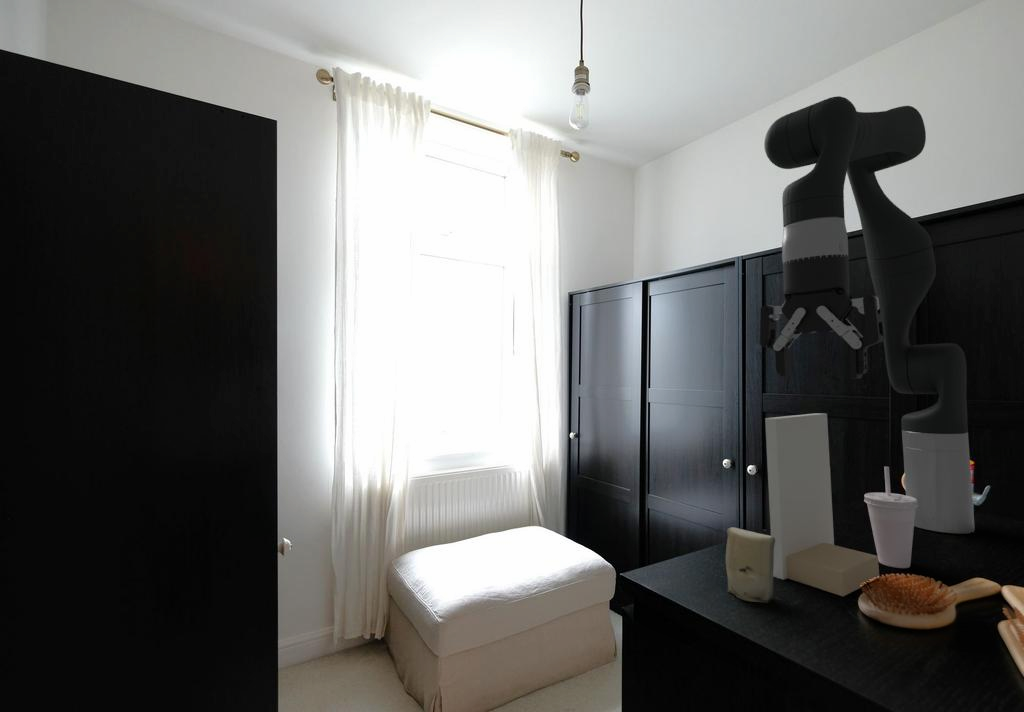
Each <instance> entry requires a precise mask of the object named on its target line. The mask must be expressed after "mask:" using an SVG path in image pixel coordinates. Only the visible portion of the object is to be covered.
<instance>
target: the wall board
mask: <svg viewBox="0 0 1024 712" xmlns="http://www.w3.org/2000/svg"><path fill="white" fill-rule="evenodd" d="M764 420H765V438H766V439H765V441H766V442H765V443H766V461H767V462H766V463H767V466H766V467H767V480H768V481H767V482H768V483H767V484H768V503H769V504H768V506H769V525H770V536H772V537H774V538H775V544H774V563H773V578H776V579H780V580H782V581H785V580H787V579H790V580H791V581H794V582H798V583H801V584H804V585H807V586H810V587H813V588H816V589H820V590H822V591H826V592H829V593H832V594H833V595H834V594H835V595H837V596H840V597H845V596H847V595H849V594H851V593H853V592H855V591H857V590H859V589H861V588H860V584H861V583H862V582H865V581H868V580H869V579H871V578H874V577H877V576H879V577H880V568H879V560H878V555H876V554H872V553H869V552H868V553H867V552H863V551H860V550H859V551H858V550H855V549H850V548H847V547H843V546H839V545H836V544H835V536H834V535H835V534H834V519H833V518H834V517H833V516H834V515H833V502H832V501H833V499H832V498H833V497H832V481H831V480H832V479H831V465H830V464H831V463H830V462H831V461H830V444H829V443H830V442H829V429H828V428H829V427H828V413H820V412H819V413H818V412H817V413H807V414H805V413H804V414H796V415H795V414H794V415H785V416H783V415H782V416H775V417H774V416H773V417H766V418H764Z"/></svg>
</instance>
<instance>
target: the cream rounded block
mask: <svg viewBox="0 0 1024 712" xmlns="http://www.w3.org/2000/svg"><path fill="white" fill-rule="evenodd" d="M726 533H727V540H726V546H725V547H726V549H725V569H726V575H727V592H728V593H730V594H732V595H734V596H736V598H738V599H740V600H742V601H747V602H751V603H753V602H754V603H767V604H769V603H771V602H772V601H773V598H774V597H773V596H774V577H773V563H774V544H775V538H774V537H772V536H771V535H768V534H763V533H758V532H756V531H755V532H754V531H750V530H746V529H743V528H742V529H741V528H738V527H733V526H732V527H729V528H727V529H726Z"/></svg>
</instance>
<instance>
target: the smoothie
mask: <svg viewBox="0 0 1024 712" xmlns="http://www.w3.org/2000/svg"><path fill="white" fill-rule="evenodd" d="M883 467H884V468H883V469H884V482H885V492H867V493H865V494H864V497H863V498H864V500H863V502H864V503H866V504H867V510H868V516H869V520H870V525H871V529H872V535H873V539H874V540H873V541H874V546H875V550H876V554H877V555H876V556H878V563H880V564H881V565H884V566H887V567H891V568H896V569H897V568H898V569H908V568H910V567H911V562H912V550H913V549H912V548H913V540H914V530H915V529H914V528H915V526H914V520H915V508H917V507H918V503H917V499H915V498H913V497H910V496H906V494H905V495H904V494H900V493H893V492H891V479H890V467H889V466H883Z"/></svg>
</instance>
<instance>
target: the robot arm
mask: <svg viewBox="0 0 1024 712" xmlns="http://www.w3.org/2000/svg"><path fill="white" fill-rule="evenodd" d="M926 133H927V132H926V126H925V122H924V119H923V117H922V114H921V113H920V111H919V110H918V109H917V108H915V107H913V106H911V105H903V106H898V107H894V108H890V109H887V110H882V111H871V112H870V111H867V112H864V111H858V110H857V108H856V107H855V105H854V104H853V102H852V101H850V100H849V99H848V98H847V97H844V96H840V95H839V96H832V97H828V98H826V99H823V100H820V101H819V102H815V103H813V104H810V105H807V106H806V107H803V108H800V109H798V110H795V111H792V112H790V113H787V114H785V115H782V116H780V117H779V118H778V119H776V120H775V121H774V122H772V124H771V125H770V126H769V128H768V130H767V132H766V134H765V137H764V145H763V146H764V152H765V154H766V156H767V158H768V160H769V162H771V163H772V164H773V165H774V166H775V167H777V168H780V169H784V170H791V169H792V170H793V169H798V168H802V167H807V166H811V165H814V166H813V169H812V170H810V171H809V172H808V173H807V174H805V175H804V176H802V177H800V178H798V179H796V180H794V181H792V182H790V183H789V184H787V185H786V187H785V188H784V190H783V191H782V197H781V198H782V199H781V201H782V203H781V205H782V224H783V226H782V227H783V228H782V229H783V230H782V231H783V232H782V233H783V234H782V241H781V242H782V243H781V244H782V245H781V260H782V272H783V273H782V275H783V276H782V277H783V279H782V280H783V295H784V302H783V303H782V305H772V304H771V305H769V304H766V305H762V306H761V308H760V320H759V321H760V324H759V325H760V327H759V329H760V330H759V344H760V346H761V347H762V348H768V349H771V350H773V351H774V353H775V370H776V373H777V374H779V375H780V378H782V379H787V378H792V375H793V369H792V367H793V366H792V351H791V350H789V348H791V346H792V344H794V341H796V339H798V338H799V337H800V336H801V334H814V333H815V334H816V333H833V332H835V333H836V334H837V335H838V336H839V337H841V338H842V339H843V340H844V341H845V342H846V343H847V344H848V345H849V346H850V347H851V349H849V369H850V370H849V372H850V373H849V375H850V378H851V380H852V379H853V380H857V379H862V378H863V375H864V374H867V372H868V370H869V367H868V365H869V364H868V349H869V347H870V346H871V347H872V346H873V345H876V344H879V343H883V346H884V347H883V349H884V355H885V364H886V370H887V377H888V379H889V382H890V384H891V387H892V388H893V390H894V391H896V392H897V393H899V394H905V395H938V400H937V402H935V404H933V405H931V406H930V407H927V408H925V409H921V410H919V411H914V412H910V413H907V414H904V415H903V416H902V417H901V438H902V452H903V454H902V455H903V468H904V484H905V495H906V496H910V497H913V498H915V499H917V503H918V507H917V508H915V520H914V527H916V528H919V529H923V530H928V531H932V532H940V533H947V534H971V532H972V533H975V531H976V529H975V528H976V527H975V516H974V500H973V497H974V496H973V483H972V472H971V471H972V470H971V459H970V458H971V457H970V455H971V454H970V443H969V428H968V404H967V403H968V402H967V381H968V380H967V376H968V375H967V361H966V356H965V352H964V350H963V349H962V347H961V346H959V344H956V343H945V342H944V343H929V344H913V345H912V344H911V343H910V338H909V336H910V335H909V333H910V331H909V330H910V326H911V323H912V320H913V318H914V315H915V313H916V311H917V310H918V308H919V306H920V305H921V303H922V301H923V299H924V298H925V297H926V295H927V293H928V291H930V288H931V286H932V284H933V282H934V280H935V277H936V275H937V267H936V259H935V254H934V249H933V244H932V239H931V236H930V234H929V233H928V232H927V230H926V229H925V228H924V227H923V226H922V225H921V224H920V223H919V222H917V221H916V220H915V219H914V218H912V217H911V216H910V215H909V214H907V213H906V212H905V211H903V210H902V209H901V208H899V207H898V206H897V205H896V204H895V203H894V202H893V201H892V200H891V199H890V198H889V197H888V196H887V195H886V194H885V193H884V190H883V189H882V187H881V186H880V184H879V181H878V179H877V176H876V174H875V173H876V172H880V171H883V170H887V169H890V168H892V167H895V166H899V165H902V164H905V163H908V162H909V161H912V160H914V159H915V158H917V157H918V156H920V154H921V153H922V152H923V150H924V148H925V145H926V140H927V139H926V137H927V136H926ZM846 176H847V177H848V181H849V184H850V187H851V191H852V194H853V197H854V201H855V204H856V207H857V212H858V216H859V221H860V225H861V231H862V235H863V241H864V246H865V252H866V259H867V264H868V269H869V273H870V277H871V278H870V279H871V281H872V286H873V290H874V295H872V294H871V295H870V294H867V295H865V296H864V297H859V298H853V297H852V295H851V292H850V291H851V290H850V288H851V287H850V261H849V260H850V259H849V258H850V257H849V239H848V237H849V236H848V231H847V227H846V221H845V220H846V219H845V201H844V200H845V199H844V198H845V195H844V194H845V193H844V189H845V182H846ZM855 308H856V309H857V310H858V313H860V314H862V315H864V322H865V323H864V324H865V329H866V330H865V332H866V335H864V336H863V335H862V333H860V332H859V331H858V329H857V327H855V325H853V323H851V321H850V320H849V319H848V317H849V315H850V314H851V313H852V311H853V310H854V309H855ZM781 315H783V316H784V317H785V318H786V319H787V320H788V322H787V324H786V325H785V326H784V328H783V329H782V330H781V332H780V335H779V337H778V338H777V321H778V320H780V318H781ZM974 530H975V531H974Z"/></svg>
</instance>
